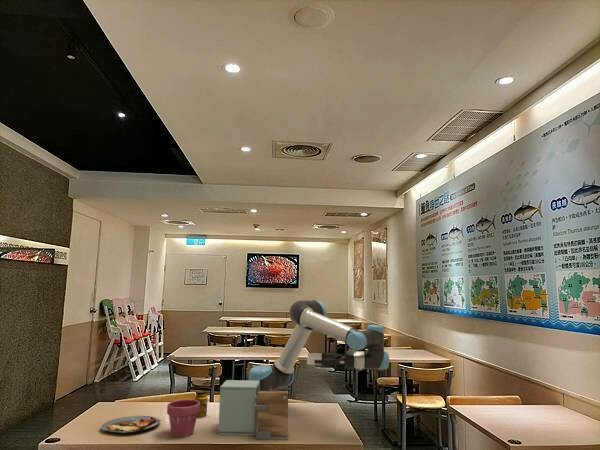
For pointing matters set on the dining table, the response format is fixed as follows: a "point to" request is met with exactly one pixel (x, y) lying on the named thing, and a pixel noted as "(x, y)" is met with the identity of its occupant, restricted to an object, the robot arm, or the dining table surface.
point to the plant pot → (183, 416)
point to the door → (273, 413)
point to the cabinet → (241, 409)
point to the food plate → (130, 424)
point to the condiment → (202, 403)
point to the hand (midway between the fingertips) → (307, 358)
